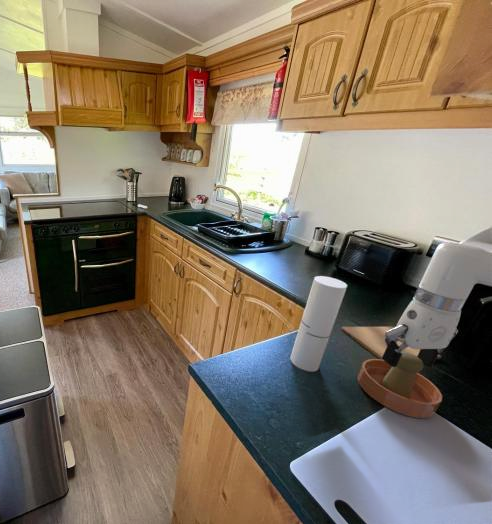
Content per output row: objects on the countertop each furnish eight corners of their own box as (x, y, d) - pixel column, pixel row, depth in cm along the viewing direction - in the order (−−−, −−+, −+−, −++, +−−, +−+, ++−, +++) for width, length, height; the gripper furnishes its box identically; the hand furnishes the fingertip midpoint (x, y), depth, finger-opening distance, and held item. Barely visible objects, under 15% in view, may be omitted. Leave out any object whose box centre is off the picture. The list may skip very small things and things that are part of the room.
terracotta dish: (391, 371, 80) (397, 358, 78) (451, 417, 66) (460, 402, 65) (343, 373, 78) (348, 359, 76) (394, 421, 64) (402, 405, 63)
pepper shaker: (373, 386, 73) (389, 351, 69) (387, 380, 76) (403, 346, 72) (401, 404, 68) (419, 367, 64) (414, 398, 71) (433, 361, 67)
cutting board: (391, 328, 102) (392, 326, 101) (440, 358, 87) (441, 356, 87) (340, 329, 99) (341, 326, 99) (382, 360, 84) (383, 357, 84)
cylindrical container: (303, 352, 85) (328, 275, 77) (324, 369, 79) (354, 286, 70) (284, 356, 83) (307, 277, 74) (304, 373, 77) (332, 289, 68)
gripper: (421, 307, 58) (389, 374, 64) (492, 308, 60) (454, 373, 66) (387, 290, 65) (361, 352, 71) (452, 292, 67) (421, 352, 73)
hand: (406, 362), depth 69 cm, fingers open, 9 cm apart
